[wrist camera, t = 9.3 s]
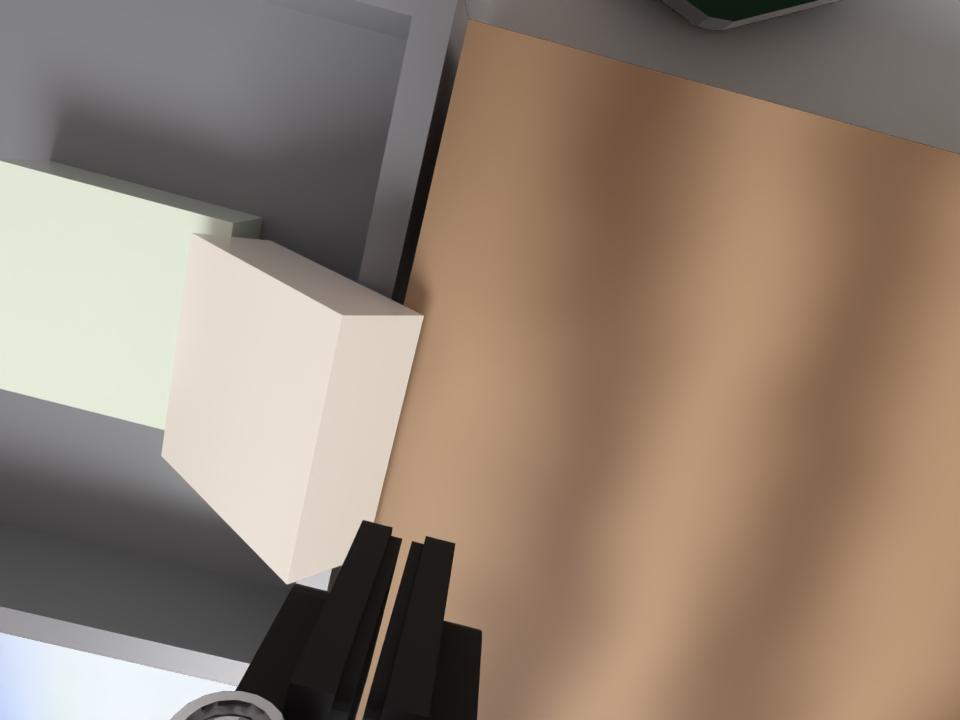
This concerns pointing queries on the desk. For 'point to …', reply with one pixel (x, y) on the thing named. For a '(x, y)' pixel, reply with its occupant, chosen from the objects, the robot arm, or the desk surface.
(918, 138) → the desk surface
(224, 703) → the robot arm
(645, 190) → the wooden block
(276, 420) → the tile cream
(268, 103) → the bin
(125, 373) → the tile sage
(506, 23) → the desk surface
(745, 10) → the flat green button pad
